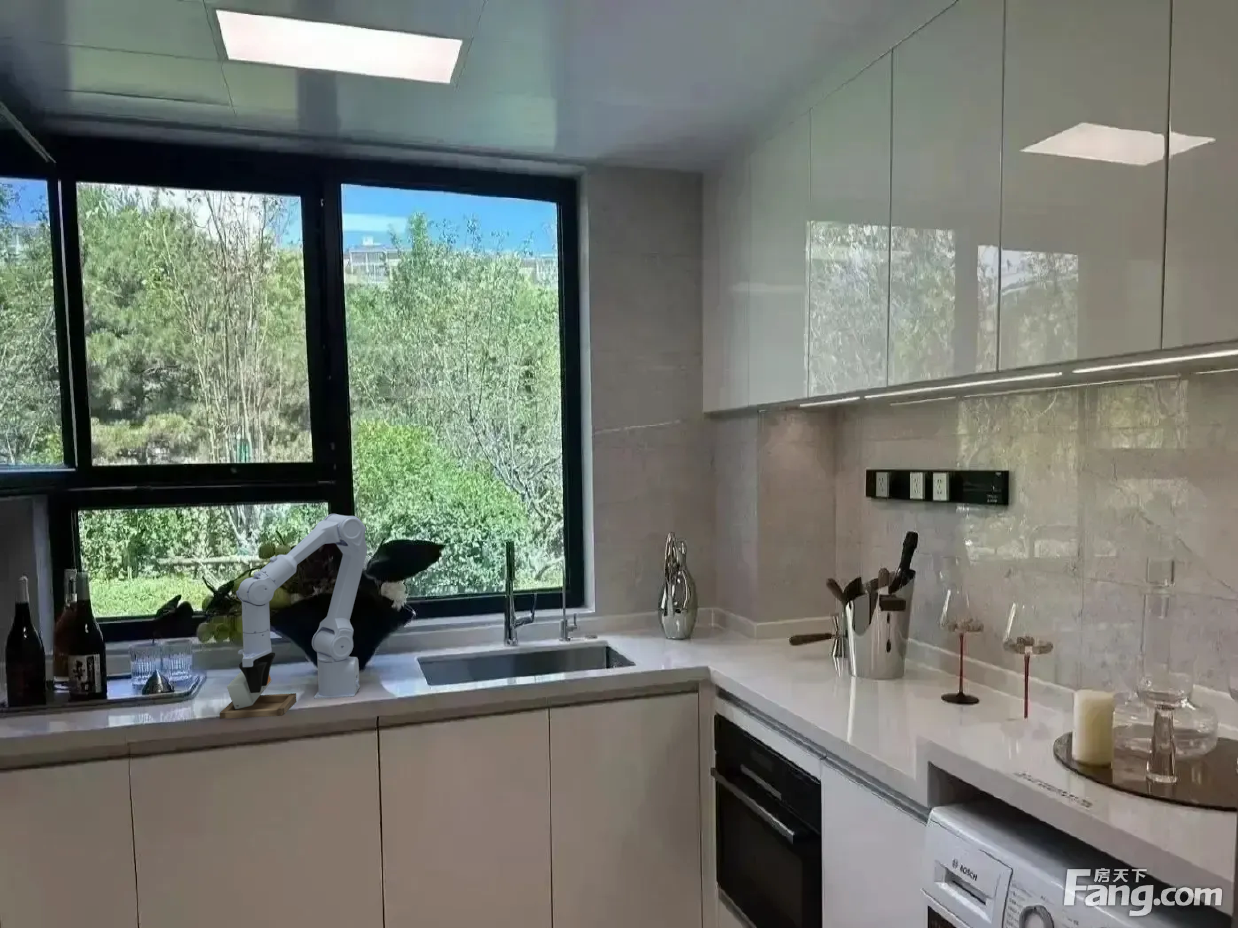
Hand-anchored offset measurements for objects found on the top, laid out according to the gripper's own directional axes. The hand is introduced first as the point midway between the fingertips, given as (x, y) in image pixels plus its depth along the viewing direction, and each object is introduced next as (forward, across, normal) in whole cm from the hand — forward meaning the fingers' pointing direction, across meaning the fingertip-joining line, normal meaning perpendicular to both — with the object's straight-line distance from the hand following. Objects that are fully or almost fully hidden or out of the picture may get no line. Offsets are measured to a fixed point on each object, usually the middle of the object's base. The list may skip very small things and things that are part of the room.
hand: (258, 688), depth 188 cm
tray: (+6, 0, 0) cm, 6 cm away
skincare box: (-1, -10, -2) cm, 11 cm away
